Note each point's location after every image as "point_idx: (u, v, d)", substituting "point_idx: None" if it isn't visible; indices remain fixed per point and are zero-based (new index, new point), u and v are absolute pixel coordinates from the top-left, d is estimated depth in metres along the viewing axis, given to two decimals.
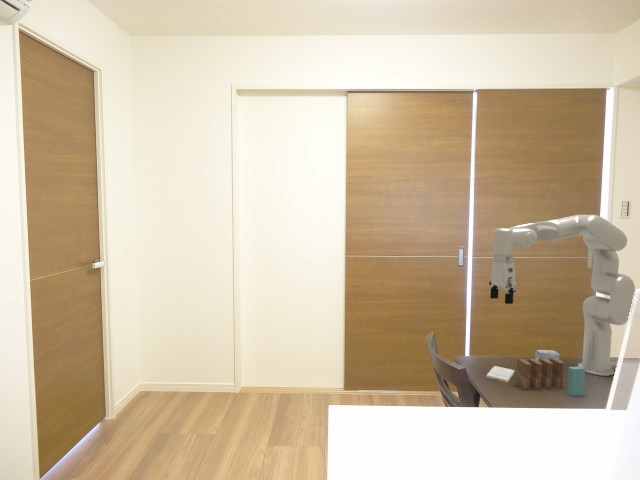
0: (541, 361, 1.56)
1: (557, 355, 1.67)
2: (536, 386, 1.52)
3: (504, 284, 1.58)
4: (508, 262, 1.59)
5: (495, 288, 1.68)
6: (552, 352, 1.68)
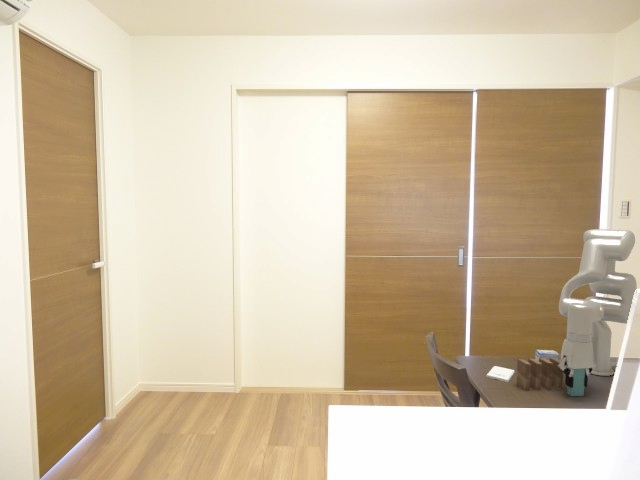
0: (541, 361, 1.56)
1: (557, 355, 1.67)
2: (536, 386, 1.52)
3: (592, 364, 1.46)
4: None
5: None
6: (552, 352, 1.68)
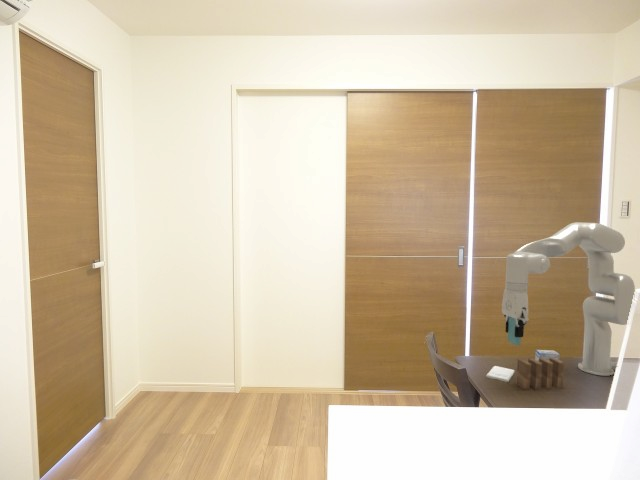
0: (541, 361, 1.56)
1: (557, 355, 1.67)
2: (536, 386, 1.52)
3: None
4: None
5: None
6: (552, 352, 1.68)
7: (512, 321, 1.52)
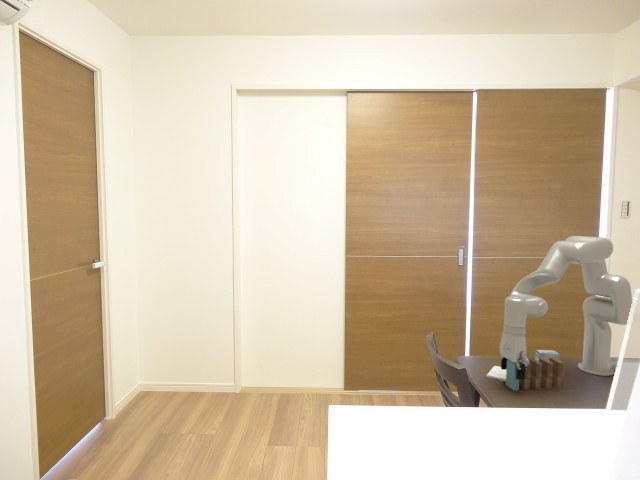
0: (541, 361, 1.56)
1: (557, 355, 1.67)
2: (536, 386, 1.52)
3: None
4: None
5: None
6: (552, 352, 1.68)
7: (510, 366, 1.53)
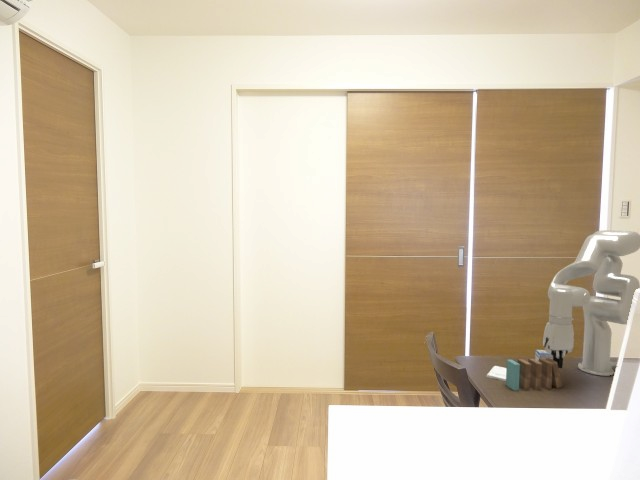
0: (541, 361, 1.56)
1: None
2: (536, 386, 1.52)
3: (573, 346, 1.54)
4: None
5: None
6: None
7: (510, 366, 1.53)
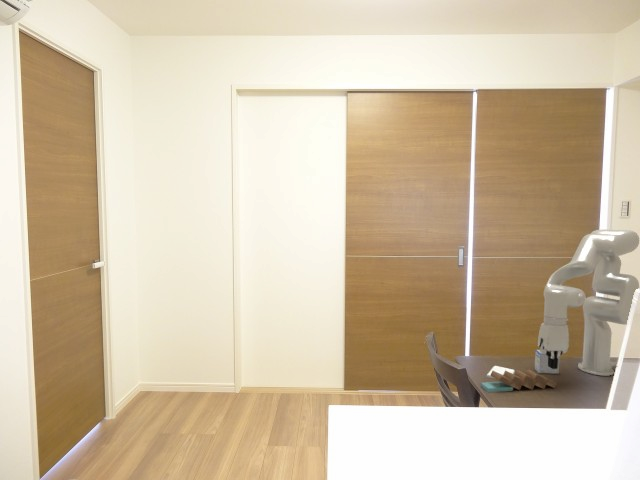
0: (518, 376, 1.54)
1: None
2: (530, 388, 1.52)
3: (568, 346, 1.54)
4: None
5: None
6: None
7: None
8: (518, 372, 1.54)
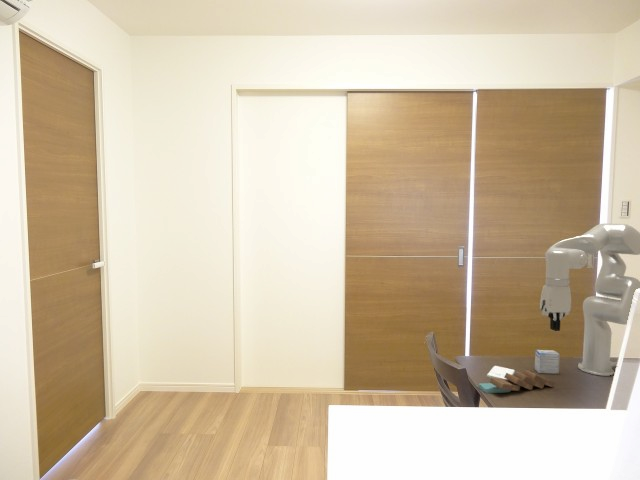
0: (517, 377, 1.54)
1: (557, 355, 1.67)
2: (529, 389, 1.51)
3: (570, 308, 1.53)
4: None
5: None
6: (552, 352, 1.68)
7: None
8: (517, 373, 1.54)
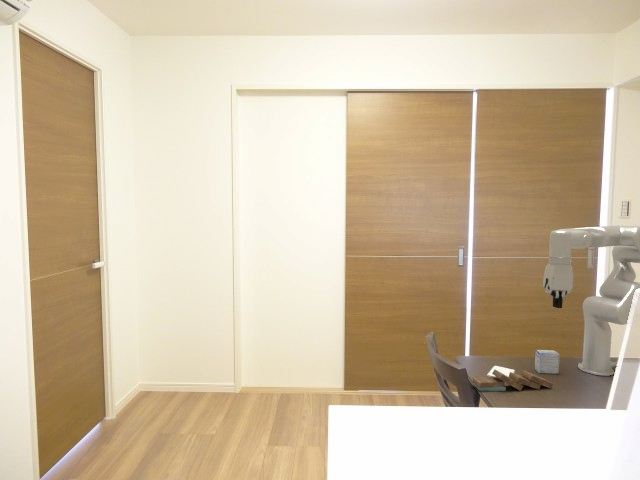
0: (512, 378, 1.55)
1: (557, 355, 1.67)
2: (518, 389, 1.51)
3: (572, 286, 1.59)
4: None
5: None
6: (552, 352, 1.68)
7: None
8: (511, 374, 1.55)
